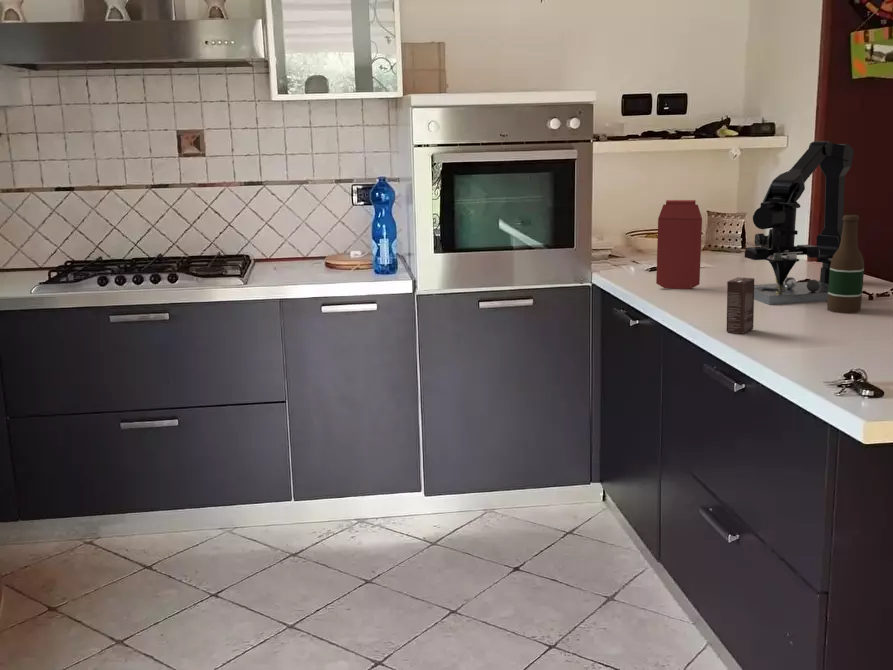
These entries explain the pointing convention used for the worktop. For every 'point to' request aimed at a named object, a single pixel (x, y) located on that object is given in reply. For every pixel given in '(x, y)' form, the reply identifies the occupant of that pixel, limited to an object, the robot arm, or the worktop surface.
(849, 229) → the beer bottle
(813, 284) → the black ball
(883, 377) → the worktop surface
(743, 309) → the box
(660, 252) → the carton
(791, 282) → the steel ball
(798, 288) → the plate
